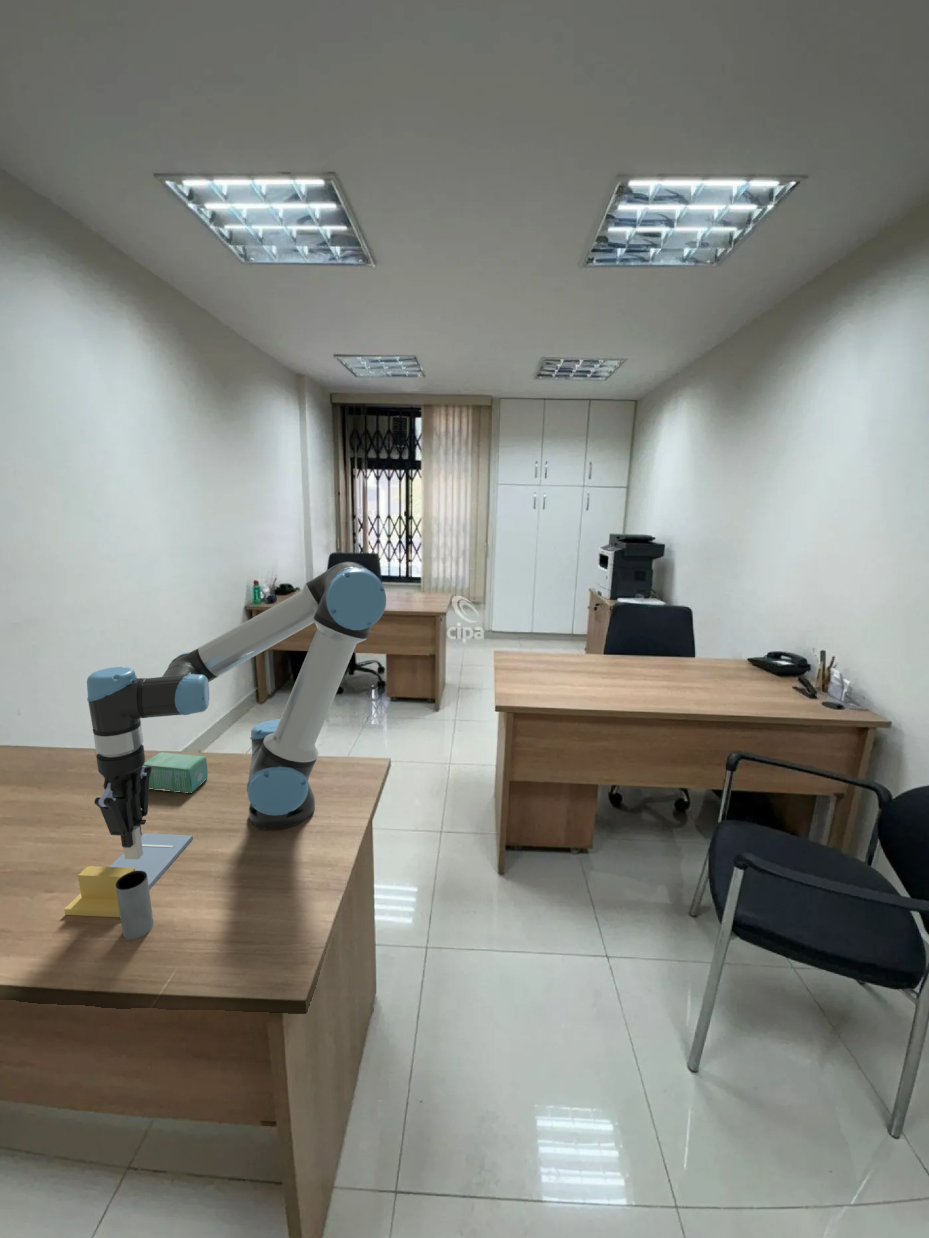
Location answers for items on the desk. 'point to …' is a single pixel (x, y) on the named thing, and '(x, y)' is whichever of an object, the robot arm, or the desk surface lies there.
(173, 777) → the box
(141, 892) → the gray cylinder
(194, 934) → the desk surface
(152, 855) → the ticket
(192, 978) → the desk surface
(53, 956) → the desk surface
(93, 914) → the yellow stepped block
